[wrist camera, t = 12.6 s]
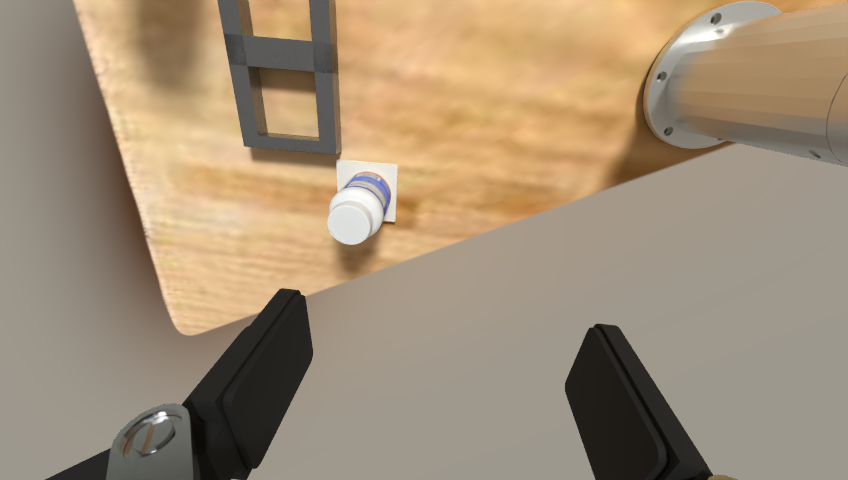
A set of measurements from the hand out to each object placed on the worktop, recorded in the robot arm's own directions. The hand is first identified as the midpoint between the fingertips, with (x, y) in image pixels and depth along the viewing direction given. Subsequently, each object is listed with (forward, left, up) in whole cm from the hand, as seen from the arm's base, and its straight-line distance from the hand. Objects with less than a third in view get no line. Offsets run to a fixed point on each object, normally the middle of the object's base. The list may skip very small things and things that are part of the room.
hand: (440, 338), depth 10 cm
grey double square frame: (+16, -8, -28) cm, 33 cm away
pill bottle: (+8, +5, -28) cm, 29 cm away
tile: (+8, +5, -28) cm, 30 cm away
